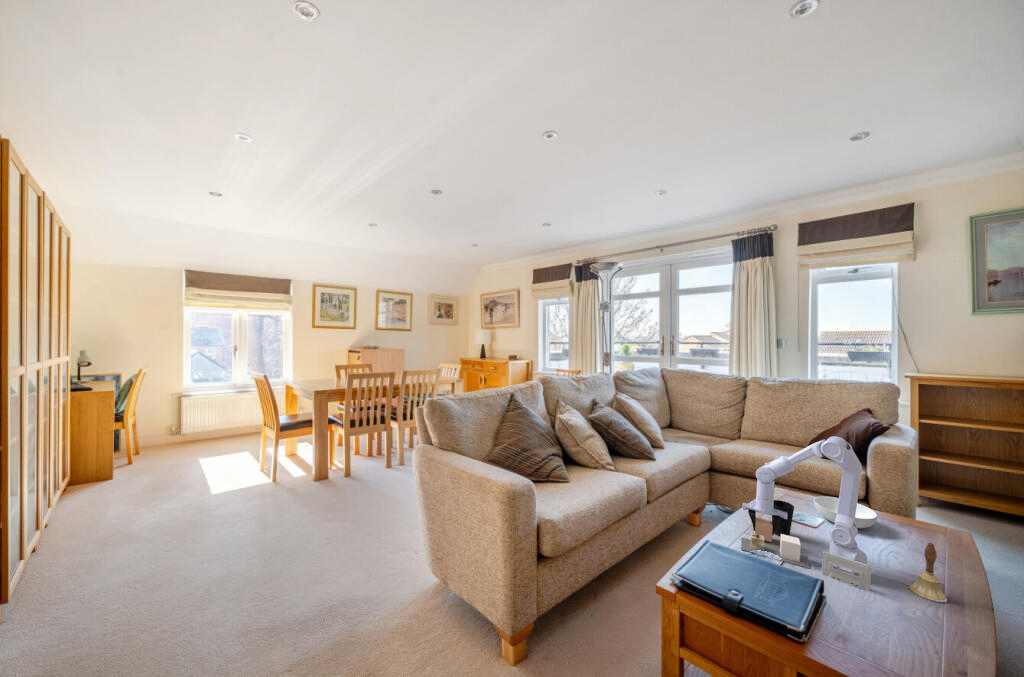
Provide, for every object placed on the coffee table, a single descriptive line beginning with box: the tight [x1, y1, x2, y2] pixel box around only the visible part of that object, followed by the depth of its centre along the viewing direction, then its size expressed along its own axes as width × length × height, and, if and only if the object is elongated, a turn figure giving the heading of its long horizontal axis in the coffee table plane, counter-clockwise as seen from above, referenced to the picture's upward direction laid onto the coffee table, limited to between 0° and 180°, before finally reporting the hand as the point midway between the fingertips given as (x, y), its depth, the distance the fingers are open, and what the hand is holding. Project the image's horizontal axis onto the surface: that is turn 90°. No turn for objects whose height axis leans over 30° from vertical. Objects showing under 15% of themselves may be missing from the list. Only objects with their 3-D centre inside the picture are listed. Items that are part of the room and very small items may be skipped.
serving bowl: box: [813, 495, 878, 529], centre depth 169 cm, size 21×21×7 cm
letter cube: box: [750, 532, 765, 551], centre depth 146 cm, size 4×4×4 cm
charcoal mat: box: [740, 537, 810, 570], centre depth 143 cm, size 20×10×1 cm, turn 59°
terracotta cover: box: [754, 516, 773, 543], centre depth 152 cm, size 5×5×6 cm
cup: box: [773, 499, 795, 538], centre depth 157 cm, size 8×8×12 cm
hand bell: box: [908, 542, 947, 600], centre depth 122 cm, size 8×8×16 cm
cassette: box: [821, 550, 872, 592], centre depth 127 cm, size 12×2×8 cm, turn 49°
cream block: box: [779, 534, 801, 562], centre depth 141 cm, size 5×5×6 cm
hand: (763, 532), depth 152 cm, fingers closed on terracotta cover, 5 cm apart
